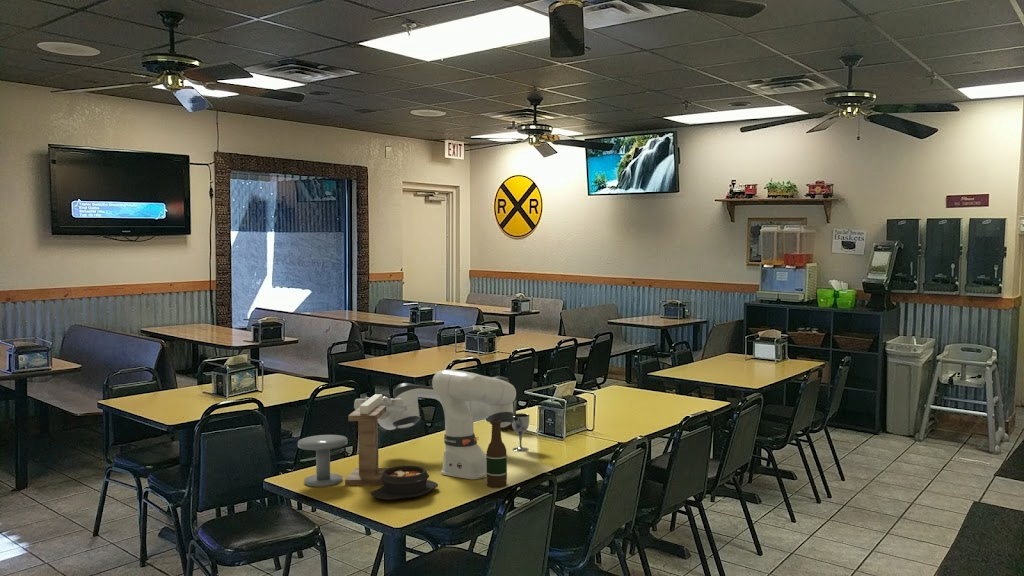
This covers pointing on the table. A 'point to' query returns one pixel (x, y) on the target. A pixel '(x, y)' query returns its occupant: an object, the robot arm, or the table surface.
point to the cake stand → (322, 458)
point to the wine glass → (520, 428)
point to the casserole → (404, 483)
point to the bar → (370, 404)
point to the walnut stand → (367, 448)
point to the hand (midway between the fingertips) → (376, 398)
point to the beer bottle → (496, 458)
